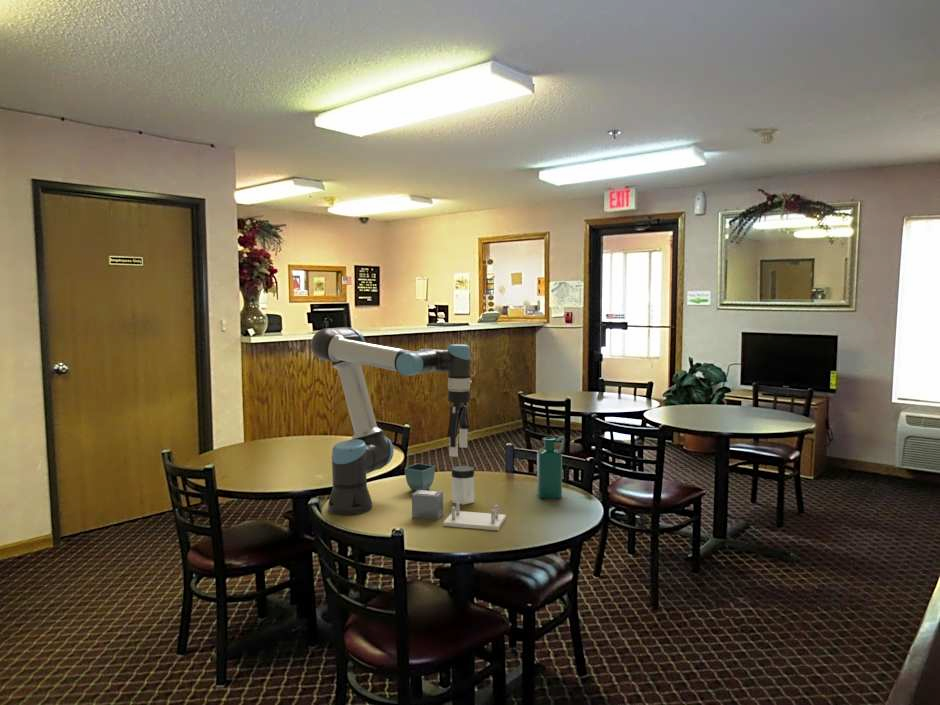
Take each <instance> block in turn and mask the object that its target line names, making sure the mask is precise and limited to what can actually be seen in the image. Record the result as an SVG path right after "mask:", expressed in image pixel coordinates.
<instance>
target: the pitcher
mask: <svg viewBox="0 0 940 705" xmlns="http://www.w3.org/2000/svg"><path fill="white" fill-rule="evenodd" d="M541 440H542V441H544V448H540V449H538V450H537V452H536V494H537V495H538V497H539V499H543V500H546V499H547V500H550V499H553V500H554V499H555V500H557V499H560V498H562V497H563V452H564V450H565V448H566V438H565V437H564V436H563V435H559V436H558V437H557V438H556V437H554V436H545V437H543V438H541ZM559 442H561V443H560V447H559V449H556V447H555V443H559Z"/></svg>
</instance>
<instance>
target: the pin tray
mask: <svg viewBox="0 0 940 705" xmlns="http://www.w3.org/2000/svg"><path fill="white" fill-rule="evenodd" d="M460 505H461V504H460V503H459V502H456V503H455V506H451V513H450V514H449V515H448V516H447V518H445V520H444V521H443V523H442V525H443V527H451V528H453V527H454V528H465V529H477V530H487V531H499V529H500V528H501V527H502V526H503V524H504V522H505V521H506V519H507V514H500V513H499V505H498V504H495V505H494V509H491V510H490V512H489V513H487V512H476V511H474V512H473V511H464V510H463V511H462V510H460Z"/></svg>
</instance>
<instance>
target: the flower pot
mask: <svg viewBox="0 0 940 705" xmlns="http://www.w3.org/2000/svg"><path fill="white" fill-rule="evenodd" d="M435 471H436V466H435V465H431V464H425V463H418V462H417V463H414V464H412V465H409V466H407V467H404V473H405V474H404V475H405V480H406V483H407V485H408V487H409V489H410V490H411V491H414V492H416V491H417V490H429V489H430V488H431V487H432V484H433V482H434V479H435Z"/></svg>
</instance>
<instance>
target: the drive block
mask: <svg viewBox="0 0 940 705" xmlns="http://www.w3.org/2000/svg"><path fill="white" fill-rule="evenodd" d="M411 516H412V517H411V518H412V519H418V520H433V521H439V519H441V517H442V516H444V491H442V490H441V491H440V490H439V491H438V490H429V489H427V490H417V491H414V492H413V493H412V494H411Z"/></svg>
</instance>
